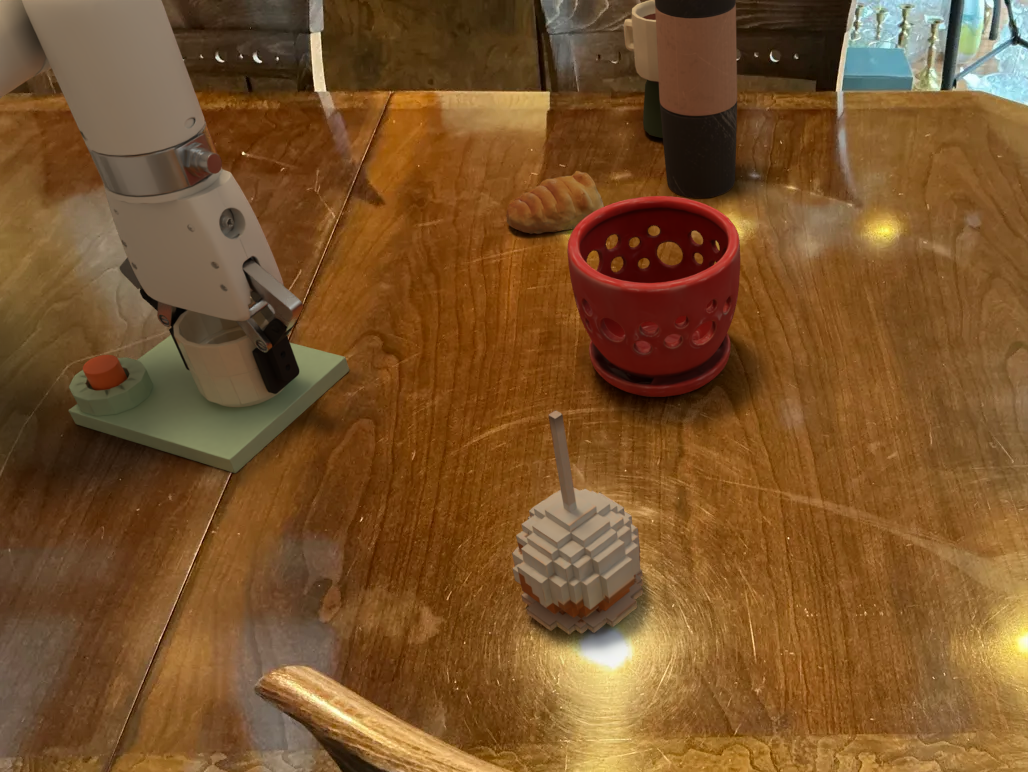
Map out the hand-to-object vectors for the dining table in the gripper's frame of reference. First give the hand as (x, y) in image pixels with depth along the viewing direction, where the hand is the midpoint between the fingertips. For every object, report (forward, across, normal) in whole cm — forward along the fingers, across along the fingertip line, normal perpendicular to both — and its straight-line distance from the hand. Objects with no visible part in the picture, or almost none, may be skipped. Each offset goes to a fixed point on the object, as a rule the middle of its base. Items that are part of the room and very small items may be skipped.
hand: (243, 371), depth 85 cm
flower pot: (+3, -29, -16) cm, 33 cm away
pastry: (+3, -9, -35) cm, 36 cm away
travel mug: (+3, -19, -47) cm, 51 cm away
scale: (+3, +3, +1) cm, 4 cm away
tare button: (0, +9, +5) cm, 10 cm away
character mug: (+3, -11, -57) cm, 58 cm away
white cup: (+1, 0, 0) cm, 1 cm away
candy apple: (+3, -35, +9) cm, 36 cm away
